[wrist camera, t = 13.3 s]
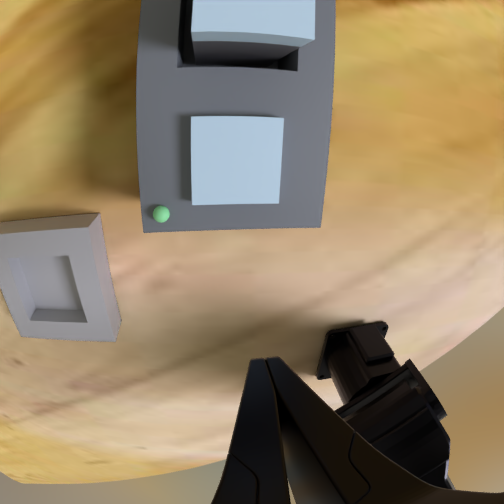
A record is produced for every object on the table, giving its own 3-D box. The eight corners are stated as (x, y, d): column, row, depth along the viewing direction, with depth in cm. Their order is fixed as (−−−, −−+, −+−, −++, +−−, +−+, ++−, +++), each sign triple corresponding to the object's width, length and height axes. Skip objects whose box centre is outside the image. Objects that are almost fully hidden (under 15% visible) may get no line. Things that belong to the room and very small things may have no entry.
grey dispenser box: (294, 199, 20) (324, 232, 15) (156, 202, 19) (141, 237, 14) (304, -3, 14) (339, -33, 9) (159, -8, 13) (145, -46, 8)
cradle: (121, 320, 23) (115, 341, 20) (31, 318, 21) (21, 336, 19) (100, 212, 18) (88, 227, 16) (0, 222, 17) (-16, 235, 15)
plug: (266, 66, 15) (314, 39, 8) (196, 65, 15) (190, 31, 8) (268, 7, 13) (314, -50, 6) (199, 4, 13) (199, -61, 6)
